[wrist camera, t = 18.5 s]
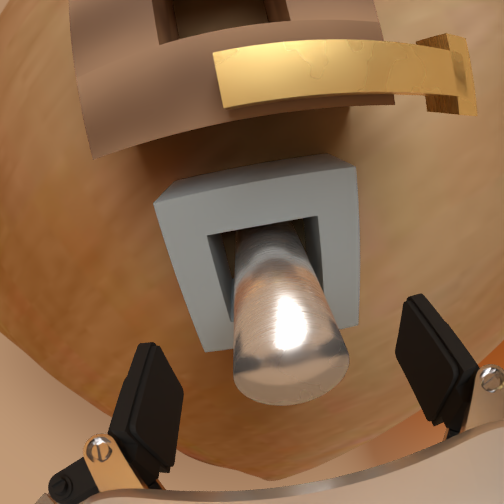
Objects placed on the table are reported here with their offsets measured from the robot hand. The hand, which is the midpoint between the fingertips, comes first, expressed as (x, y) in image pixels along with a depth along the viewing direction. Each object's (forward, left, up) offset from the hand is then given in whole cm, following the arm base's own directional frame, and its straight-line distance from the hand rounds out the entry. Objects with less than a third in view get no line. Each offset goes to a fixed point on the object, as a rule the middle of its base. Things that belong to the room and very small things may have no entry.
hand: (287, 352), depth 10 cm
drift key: (-9, +5, -5) cm, 12 cm away
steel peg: (0, 0, -11) cm, 11 cm away
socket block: (-15, 0, -11) cm, 18 cm away
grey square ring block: (0, 0, -11) cm, 11 cm away
